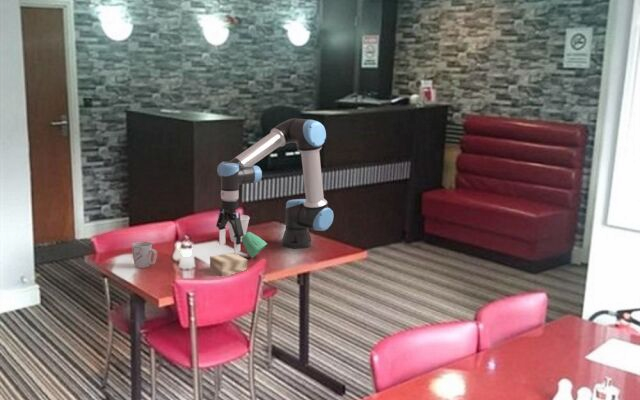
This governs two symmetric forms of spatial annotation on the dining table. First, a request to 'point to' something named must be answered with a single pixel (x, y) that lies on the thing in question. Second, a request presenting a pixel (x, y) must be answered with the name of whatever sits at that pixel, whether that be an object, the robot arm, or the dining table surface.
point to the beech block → (228, 264)
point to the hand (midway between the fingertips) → (229, 247)
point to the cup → (244, 223)
